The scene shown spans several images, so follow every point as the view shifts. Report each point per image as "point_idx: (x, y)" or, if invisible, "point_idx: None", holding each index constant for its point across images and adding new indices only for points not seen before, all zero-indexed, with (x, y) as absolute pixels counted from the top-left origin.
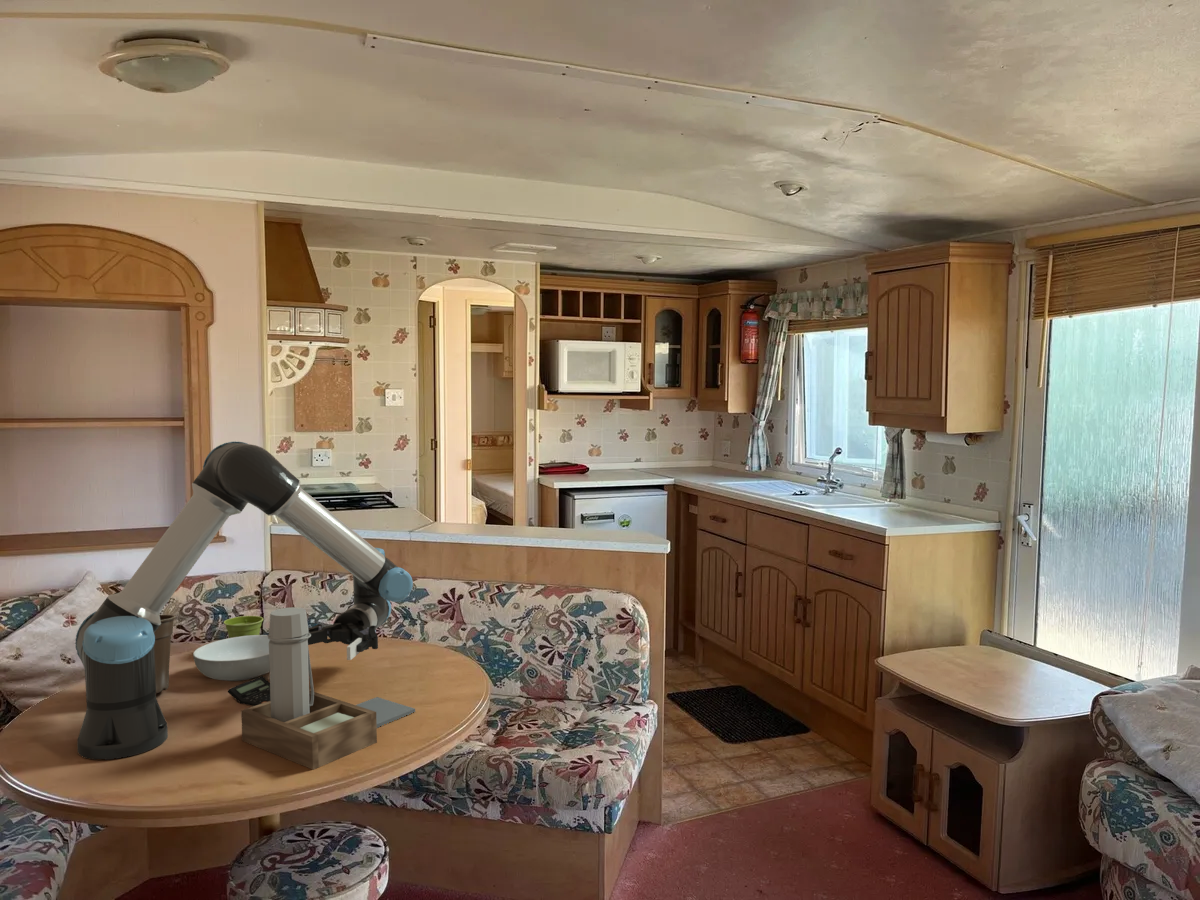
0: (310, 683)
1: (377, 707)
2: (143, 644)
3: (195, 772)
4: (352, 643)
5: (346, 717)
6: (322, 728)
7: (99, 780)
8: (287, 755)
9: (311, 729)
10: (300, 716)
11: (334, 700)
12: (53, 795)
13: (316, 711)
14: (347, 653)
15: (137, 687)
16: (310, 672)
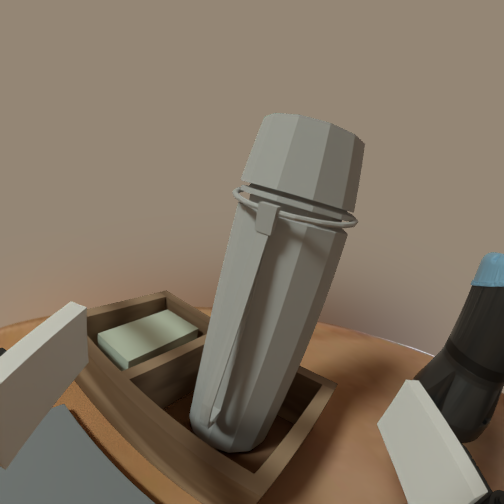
0: (217, 387)
1: (29, 502)
2: (485, 270)
3: (308, 356)
4: (44, 334)
5: (112, 338)
6: (154, 319)
7: (384, 354)
8: None
9: (172, 321)
10: (202, 344)
11: (138, 396)
12: (389, 340)
13: (174, 354)
14: (84, 335)
15: (457, 324)
16: (222, 351)
